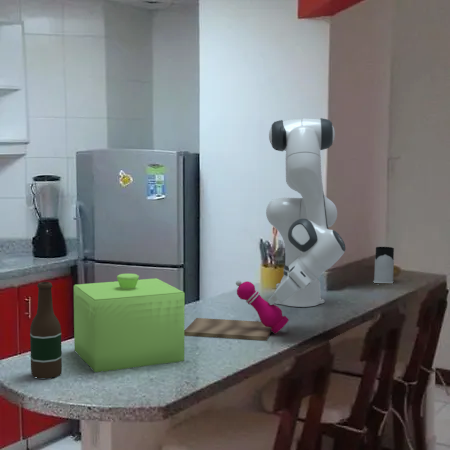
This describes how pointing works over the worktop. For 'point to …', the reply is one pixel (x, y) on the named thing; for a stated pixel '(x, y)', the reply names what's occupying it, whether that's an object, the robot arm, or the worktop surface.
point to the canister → (128, 323)
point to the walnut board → (228, 329)
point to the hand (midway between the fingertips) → (269, 302)
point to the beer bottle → (45, 337)
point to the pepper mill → (262, 307)
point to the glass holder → (384, 265)
